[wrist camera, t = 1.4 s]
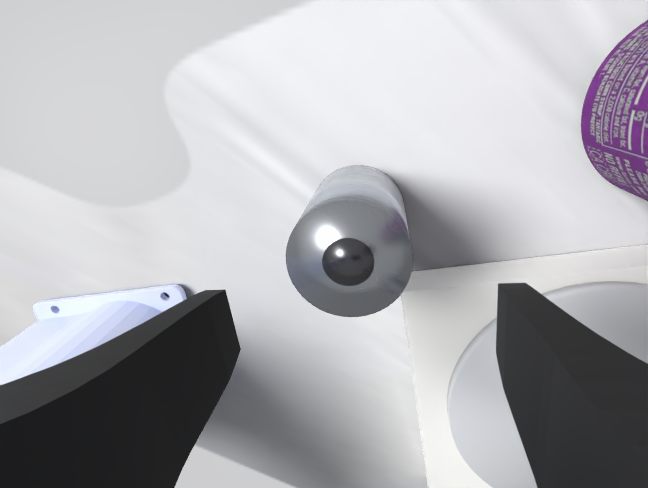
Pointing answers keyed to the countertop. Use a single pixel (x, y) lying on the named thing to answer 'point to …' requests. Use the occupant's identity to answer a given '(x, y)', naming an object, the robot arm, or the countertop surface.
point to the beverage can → (620, 115)
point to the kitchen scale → (480, 352)
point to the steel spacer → (352, 244)
